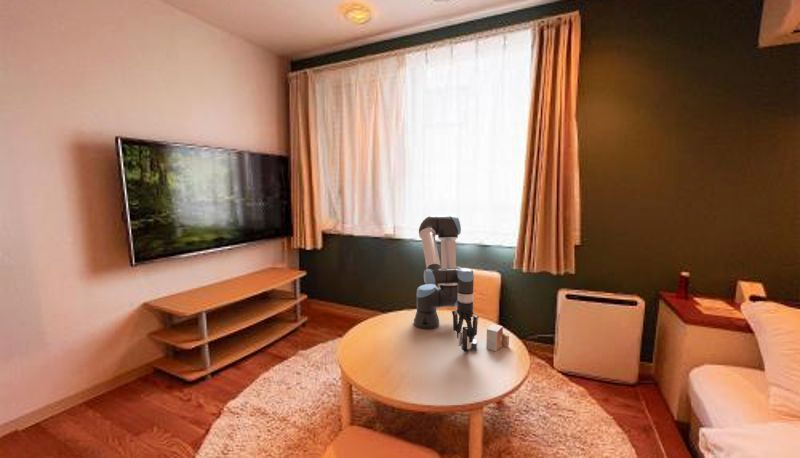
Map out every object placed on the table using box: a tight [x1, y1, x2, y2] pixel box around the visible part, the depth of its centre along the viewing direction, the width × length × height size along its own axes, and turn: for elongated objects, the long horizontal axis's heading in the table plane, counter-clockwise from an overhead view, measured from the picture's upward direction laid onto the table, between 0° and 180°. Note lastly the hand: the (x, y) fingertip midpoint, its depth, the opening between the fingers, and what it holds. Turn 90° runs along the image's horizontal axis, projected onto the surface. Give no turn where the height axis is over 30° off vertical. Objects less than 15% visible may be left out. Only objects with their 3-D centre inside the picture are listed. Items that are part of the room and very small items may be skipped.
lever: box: [461, 326, 478, 353], centre depth 167 cm, size 17×7×12 cm, turn 160°
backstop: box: [502, 332, 510, 348], centre depth 171 cm, size 8×2×6 cm, turn 34°
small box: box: [485, 323, 504, 352], centre depth 167 cm, size 8×6×10 cm
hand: (464, 346), depth 161 cm, fingers open, 4 cm apart
